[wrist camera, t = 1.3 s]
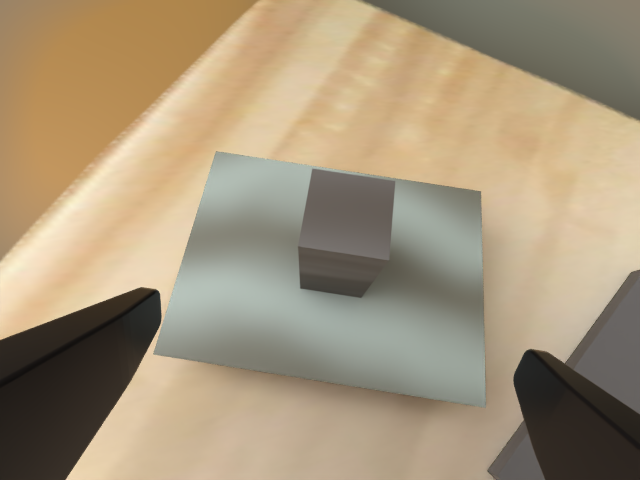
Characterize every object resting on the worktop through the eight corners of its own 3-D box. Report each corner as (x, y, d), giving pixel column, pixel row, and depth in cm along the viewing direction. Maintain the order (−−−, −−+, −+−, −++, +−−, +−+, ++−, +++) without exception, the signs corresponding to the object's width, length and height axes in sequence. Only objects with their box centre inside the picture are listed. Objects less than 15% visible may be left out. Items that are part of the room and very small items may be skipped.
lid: (470, 404, 17) (590, 427, 10) (165, 355, 17) (67, 343, 10) (469, 203, 21) (552, 117, 14) (221, 166, 21) (180, 62, 14)
